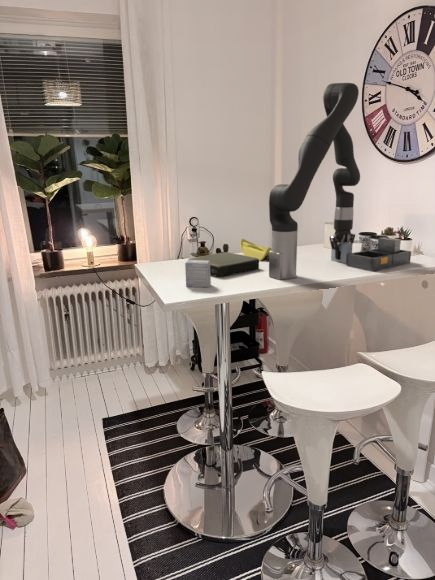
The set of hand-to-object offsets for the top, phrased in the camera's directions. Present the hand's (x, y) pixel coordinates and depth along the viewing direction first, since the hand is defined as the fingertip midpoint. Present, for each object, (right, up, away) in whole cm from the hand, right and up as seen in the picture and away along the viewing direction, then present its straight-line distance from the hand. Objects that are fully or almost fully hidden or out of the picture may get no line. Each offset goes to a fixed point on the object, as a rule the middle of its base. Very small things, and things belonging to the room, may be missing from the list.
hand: (341, 258), depth 181 cm
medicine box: (-59, -12, -33) cm, 69 cm away
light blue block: (0, -1, 0) cm, 1 cm away
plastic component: (-34, +2, +14) cm, 37 cm away
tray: (+13, -3, -7) cm, 15 cm away
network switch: (-51, -6, -9) cm, 52 cm away
